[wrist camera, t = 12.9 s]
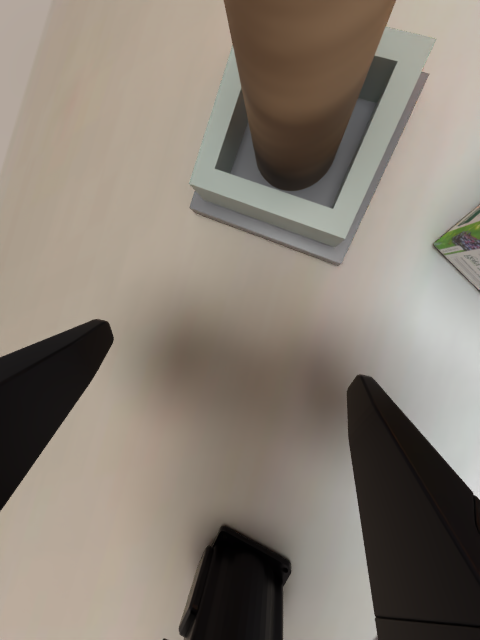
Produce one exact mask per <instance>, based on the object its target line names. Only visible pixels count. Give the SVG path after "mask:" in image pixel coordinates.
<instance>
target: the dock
mask: <svg viewBox="0 0 480 640" xmlns="http://www.w3.org/2000/svg"><path fill="white" fill-rule="evenodd" d="M435 41H436V38H432V37H428V36H424V35H419V34H415V33H411V32H407V31H402V30H398V29H394V28H390V27H385V30H384V32H383V35H382V37H381V40H380V43H379V45H378V48H377V50H376V53H375V55H374V58H373V61H372V63H371V66H370V68H369V71H368V73H367V76H366V79H365V81H364V84H363V86H362V89H361V92H360V94H359V97H358V99H357V102H356V104H355V107H354V110H353V112H352V115H351V117H350V120H349V122H348V125H347V128H346V130H345V133H344V135H343V138H342V141H341V143H340V146H339V148H338V151H337V153H336V156H335V159H334V161H333V163H332V165H331V167H330V169H329V170H328V171H327V173H326V174H325V175H324V176H323V177H322V178H321V179H320V180H319V181H318V182H316V183H315V184H313V185H312V186H310V187H308V188H305V189H302V190H297V191H286V190H281V189H278V188H276V187H274V186H272V185H271V184H269V183H268V182H267V181H266V180H265V179H264V177H263V176H262V175H261V173H260V171H259V169H258V166H257V162H256V157H255V152H254V147H253V142H252V137H251V132H250V128H249V123H248V118H247V113H246V108H245V103H244V98H243V93H242V88H241V83H240V78H239V73H238V68H237V63H236V58H235V53H234V48H233V45H232V48H231V52H230V55H229V58H228V61H227V64H226V68H225V71H224V74H223V77H222V80H221V83H220V87H219V90H218V93H217V96H216V99H215V103H214V106H213V109H212V112H211V115H210V118H209V122H208V125H207V128H206V131H205V134H204V138H203V141H202V144H201V147H200V150H199V153H198V157H197V160H196V163H195V166H194V169H193V173H192V176H191V179H190V182H189V184H190V185H191V186H192V187H193V189H194V190H195V192H194V195H193V198H192V201H191V205H190V209H191V210H193V211H194V212H195V213H197V214H200V215H203V216H205V217H208V218H211V219H214V220H216V221H219V222H222V223H224V224H227V225H230V226H232V227H235V228H238V229H240V230H243V231H246V232H249V233H251V234H254V235H257V236H259V237H262V238H265V239H267V240H270V241H273V242H275V243H278V244H281V245H284V246H286V247H289V248H292V249H294V250H297V251H300V252H302V253H305V254H308V255H310V256H313V257H316V258H319V259H321V260H324V261H327V262H329V263H332V264H335V265H337V266H338V265H340V264H341V263H342V261H343V259H344V257H345V255H346V253H347V251H348V248H349V246H350V244H351V242H352V240H353V238H354V235H355V233H356V231H357V229H358V227H359V225H360V222H361V220H362V218H363V216H364V214H365V212H366V210H367V207H368V205H369V203H370V201H371V199H372V197H373V194H374V192H375V190H376V188H377V186H378V184H379V181H380V179H381V177H382V175H383V173H384V171H385V168H386V166H387V164H388V162H389V160H390V158H391V156H392V153H393V151H394V149H395V147H396V145H397V143H398V140H399V138H400V136H401V134H402V132H403V130H404V127H405V125H406V123H407V121H408V119H409V117H410V115H411V112H412V110H413V108H414V106H415V104H416V102H417V99H418V97H419V95H420V93H421V91H422V89H423V86H424V84H425V82H426V80H427V78H428V76H429V74H428V73H424V72H422V69H423V67H424V65H425V63H426V61H427V58H428V56H429V54H430V52H431V50H432V48H433V45H434V43H435Z"/></svg>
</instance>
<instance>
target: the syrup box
mask: <svg viewBox="0 0 480 640" xmlns="http://www.w3.org/2000/svg"><path fill="white" fill-rule="evenodd" d="M434 246H435V247H436V248H437V249H438V250H439V251H440V252H441V253H442V254H443V255H444V256H445V257H446V258H447V259H448V260H449V261H450V262H451V263H452V264H453V265H454V266H455V267H456V268H457V269H458V270H459V271H460V272H461V273H462V274H463V275H464V276H465V277H466V278H467V279H468V280H469V281H470V282H471V283H472V284H473V285H474V286H475V287H476V288H478V289H479V290H480V205H479V206H478V207H477V208H475V209H474V210H473V211H472V212H471V213H469V214H468V215H467V216H466V217H465V218H463V219H462V220H461V221H460V222H459V223H457V224H456V225H455V226H454V227H453V228H452V229H450V230H449V231H448V232H447V233H446V234H445V235H443V236H442V237H441V238H440V239H439V240H437V241H436V242H435V243H434Z"/></svg>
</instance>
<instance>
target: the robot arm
mask: <svg viewBox="0 0 480 640" xmlns="http://www.w3.org/2000/svg"><path fill="white" fill-rule="evenodd" d="M113 340H114V337H113V334H112V330H111V327H110V324H109V323H108V322H107V321H104V320H100V319H94V320H92V321H89V322H87V323H84V324H82V325H79V326H77V327H74V328H72V329H69V330H67V331H65V332H62V333H60V334H57V335H55V336H52V337H50V338H47V339H45V340H42V341H40V342H37V343H35V344H32V345H30V346H27V347H25V348H22V349H20V350H17V351H15V352H12V353H10V354H8V355H5V356H3V357H0V510H2V508H3V507H4V506H5V504H6V503H7V501H8V500H9V498H10V497H11V496H12V494H13V493H14V491H15V490H16V488H17V487H18V486H19V484H20V483H21V481H22V480H23V478H24V477H25V475H26V474H27V473H28V471H29V470H30V468H31V467H32V465H33V464H34V463H35V461H36V460H37V458H38V457H39V455H40V454H41V453H42V451H43V450H44V448H45V447H46V445H47V444H48V443H49V441H50V440H51V438H52V437H53V435H54V434H55V432H56V431H57V430H58V428H59V427H60V425H61V424H62V422H63V421H64V420H65V418H66V417H67V415H68V414H69V412H70V411H71V410H72V408H73V407H74V405H75V404H76V402H77V401H78V400H79V398H80V397H81V395H82V394H83V392H84V391H85V389H86V388H87V387H88V385H89V384H90V382H91V381H92V379H93V378H94V376H95V374H96V373H97V371H98V369H99V367H100V365H101V363H102V362H103V360H104V358H105V356H106V354H107V353H108V351H109V349H110V347H111V345H112V343H113ZM347 413H348V437H349V445H350V452H351V459H352V465H353V472H354V479H355V486H356V492H357V499H358V506H359V513H360V519H361V526H362V533H363V540H364V546H365V553H366V560H367V566H368V573H369V580H370V587H371V593H372V600H373V607H374V614H375V617H376V618H375V622H376V628H377V635H378V640H480V500H479V499H478V497H477V496H475V495H473V492H472V491H471V490H470V488H469V487H468V486H467V485H466V484H465V483H464V482H463V480H462V479H461V478H460V477H459V476H458V475H457V474H456V472H455V471H454V470H453V469H452V468H451V467H450V466H449V464H448V463H447V462H446V461H445V460H444V459H443V458H442V456H441V455H440V454H439V453H438V452H437V451H436V450H435V448H434V447H433V446H432V445H431V444H430V443H429V442H428V440H427V439H426V438H425V437H424V436H423V435H422V434H421V432H420V431H419V430H418V429H417V428H416V427H415V426H414V424H413V423H412V422H411V421H410V420H409V419H408V418H407V416H406V415H405V414H404V413H403V412H402V411H401V410H400V408H399V407H398V406H397V405H396V404H395V403H394V402H393V400H392V399H391V398H390V397H389V396H388V395H387V394H386V392H385V391H384V390H383V389H382V388H381V387H380V386H379V384H378V383H377V382H376V381H375V380H374V379H373V378H372V377H370V376H366V375H361V374H359V375H357V376H356V378H355V379H354V380H353V382H352V383H351V385H350V386H349V388H348V390H347ZM290 574H291V563H290V562H289V561H288V560H286V559H284V558H283V557H281V556H279V555H277V554H275V553H273V552H272V551H270V550H268V549H266V548H264V547H262V546H261V545H259V544H257V543H255V542H253V541H252V540H250V539H248V538H246V537H244V536H242V535H241V534H239V533H237V532H235V531H233V530H231V529H230V528H228V527H225V526H223V527H221V528H220V530H219V532H218V534H217V536H216V539H215V541H214V543H213V545H212V546H210V545H209V546H208V547H207V548H206V550H205V552H204V554H203V556H202V558H201V561H200V563H199V565H198V567H197V571H196V574H195V577H194V580H193V584H192V587H191V590H190V593H189V596H188V600H187V603H186V606H185V609H184V613H183V616H182V619H181V622H180V626H179V633H180V635H181V636H183V637H184V640H283V586H284V584H285V583H286V581H287V579H288V577H289V576H290ZM163 640H167V639H163Z"/></svg>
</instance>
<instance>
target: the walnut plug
mask: <svg viewBox="0 0 480 640" xmlns="http://www.w3.org/2000/svg"><path fill="white" fill-rule="evenodd" d="M395 1H396V0H224V3H225V8H226V13H227V18H228V23H229V28H230V33H231V38H232V43H233V48H234V53H235V58H236V63H237V68H238V73H239V78H240V83H241V88H242V93H243V98H244V103H245V108H246V113H247V118H248V123H249V128H250V132H251V137H252V142H253V147H254V152H255V157H256V162H257V166H258V169H259V171H260V173H261V175H262V176H263V177H264V179H265V180H266V181H267V182H268V183H269V184H271V185H272V186H274V187H276V188H278V189H281V190H286V191H297V190H302V189H305V188H308V187H310V186H312V185H313V184H315V183H316V182H318V181H319V180H320V179H321V178H322V177H323V176H324V175H325V174H326V173H327V171H328V170H329V169H330V167H331V165H332V163H333V161H334V159H335V156H336V153H337V151H338V148H339V146H340V143H341V141H342V138H343V135H344V133H345V130H346V128H347V125H348V122H349V120H350V117H351V115H352V112H353V110H354V107H355V104H356V102H357V99H358V97H359V94H360V92H361V89H362V86H363V84H364V81H365V79H366V76H367V73H368V71H369V68H370V66H371V63H372V61H373V58H374V55H375V53H376V50H377V48H378V45H379V43H380V40H381V37H382V35H383V32H384V30H385V27H386V24H387V22H388V19H389V17H390V14H391V12H392V9H393V6H394V4H395Z"/></svg>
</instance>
